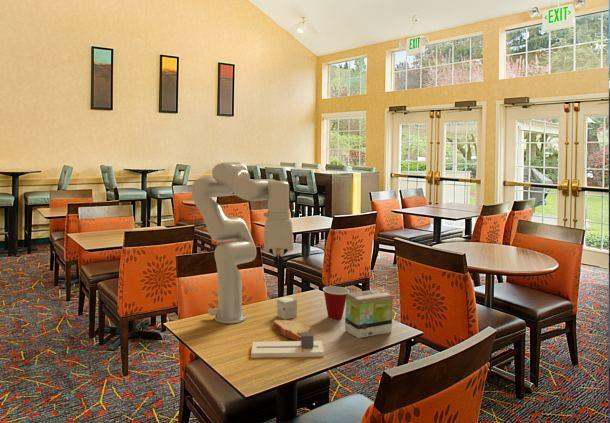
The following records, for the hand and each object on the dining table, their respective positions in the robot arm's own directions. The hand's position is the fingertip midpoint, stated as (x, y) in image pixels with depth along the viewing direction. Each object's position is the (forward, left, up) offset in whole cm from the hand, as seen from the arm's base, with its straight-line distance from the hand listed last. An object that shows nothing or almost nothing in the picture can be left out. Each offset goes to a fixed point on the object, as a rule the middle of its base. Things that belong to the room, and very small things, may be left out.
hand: (278, 266), depth 179 cm
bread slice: (+5, +6, -27) cm, 28 cm away
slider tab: (+10, -12, -25) cm, 29 cm away
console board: (+3, -12, -27) cm, 29 cm away
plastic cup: (+23, +22, -27) cm, 42 cm away
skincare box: (+3, +24, -27) cm, 36 cm away
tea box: (+34, +5, -27) cm, 43 cm away
